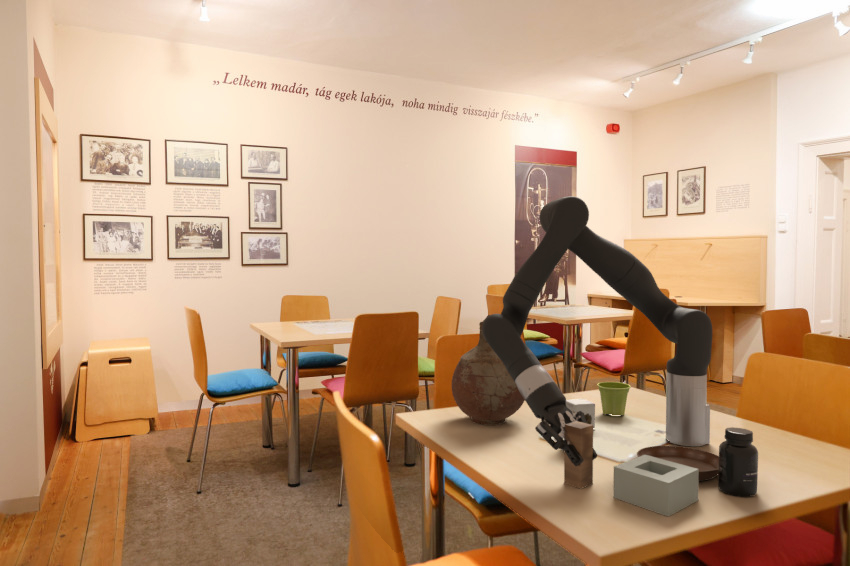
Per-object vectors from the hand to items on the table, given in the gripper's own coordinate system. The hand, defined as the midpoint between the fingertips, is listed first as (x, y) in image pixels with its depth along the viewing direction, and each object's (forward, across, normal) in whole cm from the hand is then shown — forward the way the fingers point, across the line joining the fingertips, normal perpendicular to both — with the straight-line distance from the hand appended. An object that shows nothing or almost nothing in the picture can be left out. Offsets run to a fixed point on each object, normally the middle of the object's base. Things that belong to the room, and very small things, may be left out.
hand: (586, 461), depth 119 cm
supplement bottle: (+18, +21, -11) cm, 29 cm away
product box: (-15, +34, +22) cm, 43 cm away
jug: (-29, +20, +37) cm, 51 cm away
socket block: (+12, +4, -5) cm, 14 cm away
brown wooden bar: (+2, 0, +5) cm, 5 cm away
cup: (-8, +19, +15) cm, 26 cm away
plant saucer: (+9, +24, -1) cm, 25 cm away
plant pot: (-17, +54, +24) cm, 61 cm away
